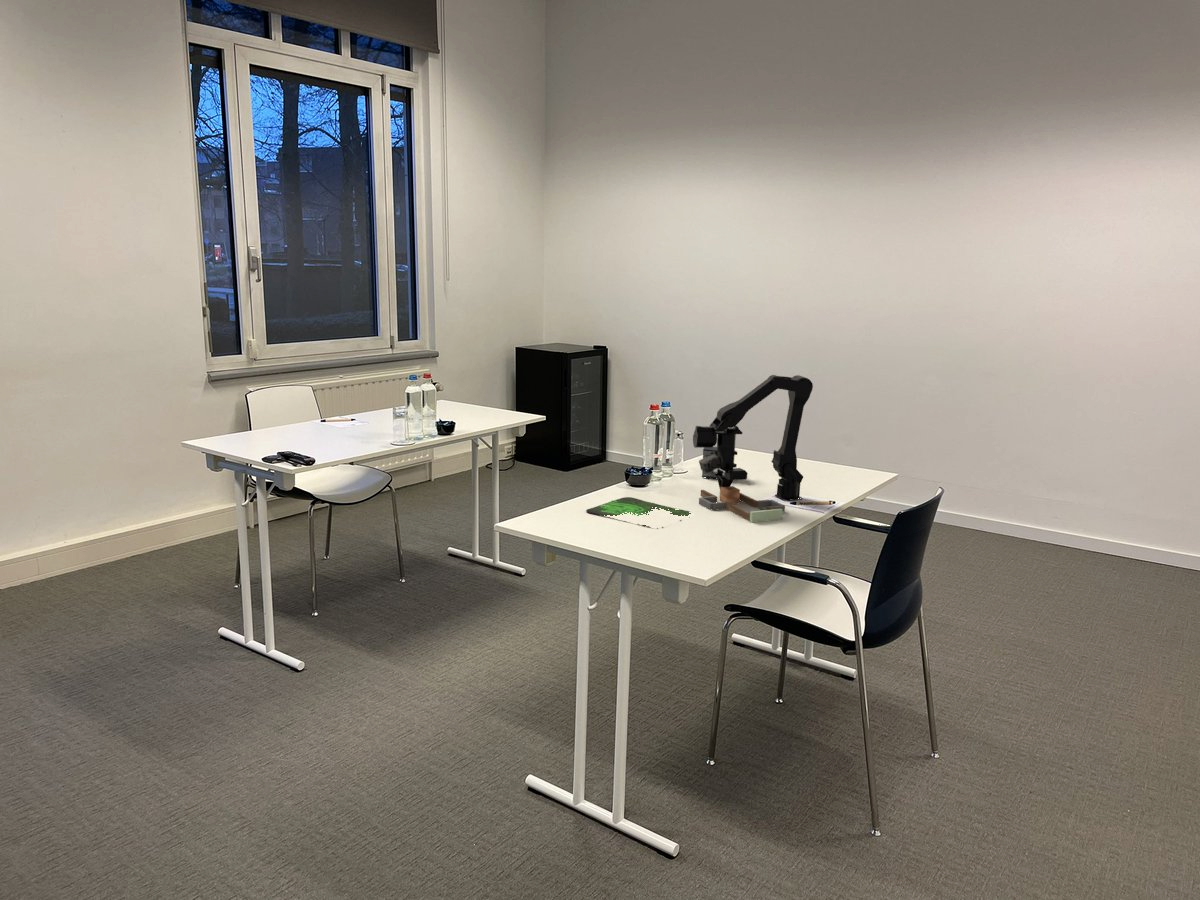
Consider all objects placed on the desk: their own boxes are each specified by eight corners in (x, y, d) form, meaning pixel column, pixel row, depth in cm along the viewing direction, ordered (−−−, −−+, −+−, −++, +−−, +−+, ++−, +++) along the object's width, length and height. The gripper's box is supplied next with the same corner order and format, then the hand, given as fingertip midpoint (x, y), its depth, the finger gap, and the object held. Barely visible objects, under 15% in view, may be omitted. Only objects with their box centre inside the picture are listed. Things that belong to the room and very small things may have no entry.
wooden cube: (731, 499, 283) (732, 486, 282) (739, 503, 279) (739, 489, 278) (719, 500, 281) (720, 487, 280) (726, 504, 277) (727, 490, 276)
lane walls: (728, 493, 291) (729, 487, 290) (780, 518, 264) (780, 511, 263) (700, 495, 287) (700, 489, 286) (749, 521, 260) (750, 514, 259)
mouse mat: (699, 514, 267) (699, 511, 267) (659, 531, 250) (659, 527, 249) (625, 498, 283) (625, 495, 282) (582, 513, 265) (582, 510, 265)
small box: (733, 476, 314) (735, 447, 312) (731, 480, 308) (733, 451, 306) (703, 473, 317) (705, 445, 315) (701, 478, 311) (702, 448, 309)
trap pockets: (755, 498, 286) (755, 492, 285) (785, 512, 270) (785, 506, 270) (698, 503, 278) (698, 497, 277) (725, 518, 262) (725, 511, 262)
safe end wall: (780, 518, 264) (780, 508, 263) (782, 519, 263) (782, 509, 262) (749, 521, 260) (750, 511, 259) (751, 522, 259) (752, 512, 258)
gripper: (689, 442, 286) (687, 489, 289) (717, 455, 269) (715, 504, 272) (719, 441, 290) (717, 487, 293) (749, 453, 273) (746, 501, 276)
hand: (723, 495), depth 284 cm, fingers closed
